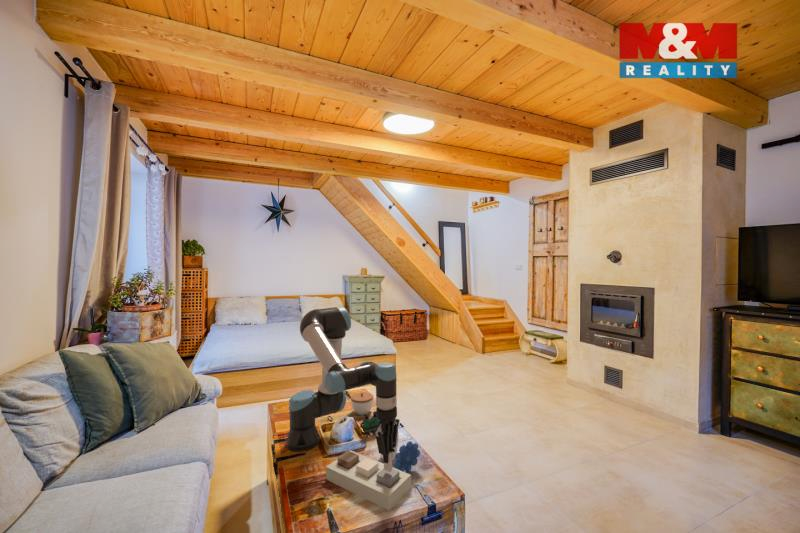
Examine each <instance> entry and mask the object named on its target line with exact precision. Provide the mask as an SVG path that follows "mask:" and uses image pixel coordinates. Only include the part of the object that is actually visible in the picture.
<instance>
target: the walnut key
mask: <svg viewBox="0 0 800 533" xmlns="http://www.w3.org/2000/svg"><path fill="white" fill-rule="evenodd" d="M353 452H354V451H353ZM353 452H350V450H347V451H345V452H343V453H342V454H341V455H339V456H338V457H337V459H338V465H339V466H341V467H344V468H346V469H348V470H349V469H350V468H352V467H353V466H355V465H356V464H357V463H359V455H358V454H359V453H358V454H355V453H353Z"/></svg>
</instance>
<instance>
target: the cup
mask: <svg viewBox="0 0 800 533" xmlns="http://www.w3.org/2000/svg"><path fill="white" fill-rule="evenodd" d="M399 436H400V435H399V431H398V432H397V441H396V447H394V448H393V449H395V451H394V452H392V461H395V455H396V454H397V453H398V446H399ZM380 458H381V459H382V460H383V455H382V454H380Z"/></svg>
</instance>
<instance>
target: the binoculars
mask: <svg viewBox="0 0 800 533" xmlns="http://www.w3.org/2000/svg"><path fill="white" fill-rule="evenodd" d="M363 416H364V417H363V420H362V422H361V423H360V425H359V427H360V428H361V430H362V429H363V431H364V432H365V433H364V436H365V435H366V436H367V437H366V438H369V437H368V436H370V437H371V432H373V434H374V431H375V430H376V431H377V429H378V428H379V427H378V424H379V420H378V418H377V410H376V411H373V412H372V416H371V417H369V416H370V415H369V413H367V414H364V415H363Z"/></svg>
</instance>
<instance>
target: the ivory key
mask: <svg viewBox="0 0 800 533" xmlns="http://www.w3.org/2000/svg"><path fill="white" fill-rule="evenodd" d="M377 471H378V463H377V462H375V461H372V460H370V459H367V458H366V459H364V460H363V461H362V462H360V463H359V464H358V465H356V473H357V474H359V475H362V476H364V477H366V478H368V479H369V478H370V477H371V476H372V475H374V474H375V473H376V472H377Z"/></svg>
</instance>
